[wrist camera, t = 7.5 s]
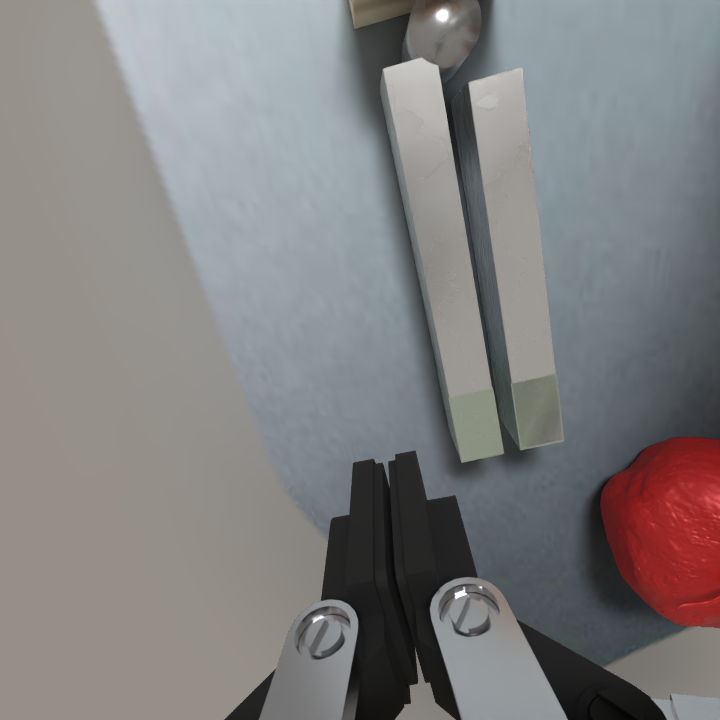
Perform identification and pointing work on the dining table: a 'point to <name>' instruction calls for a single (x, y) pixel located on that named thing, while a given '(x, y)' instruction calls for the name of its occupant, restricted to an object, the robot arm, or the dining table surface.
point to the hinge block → (378, 10)
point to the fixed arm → (509, 254)
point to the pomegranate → (669, 528)
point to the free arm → (441, 214)
